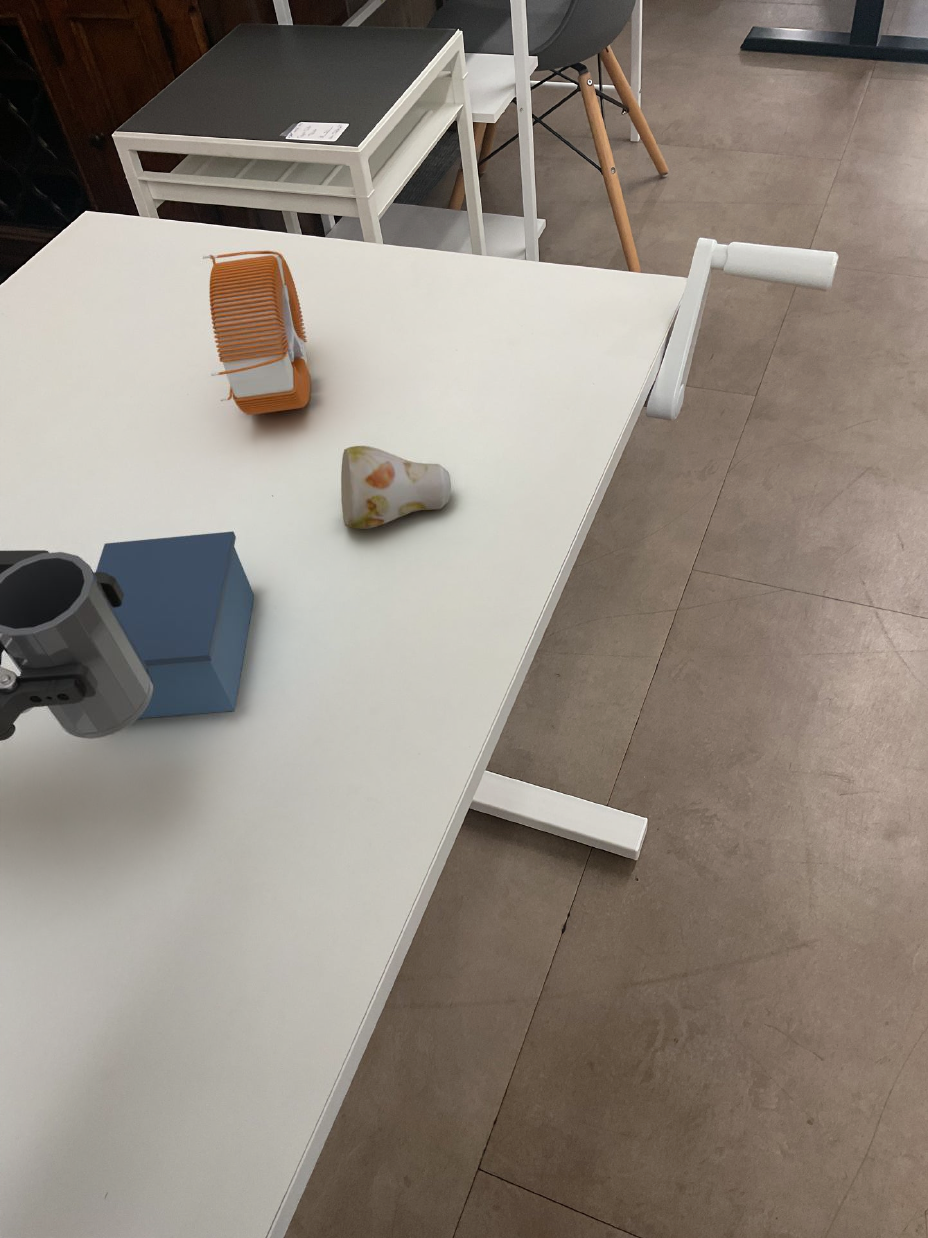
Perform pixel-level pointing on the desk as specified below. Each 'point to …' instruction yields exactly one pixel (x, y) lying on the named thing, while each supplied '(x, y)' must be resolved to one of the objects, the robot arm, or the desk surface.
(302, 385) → the coil
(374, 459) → the patterned salt shaker
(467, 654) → the desk surface
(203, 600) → the container
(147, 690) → the cup
